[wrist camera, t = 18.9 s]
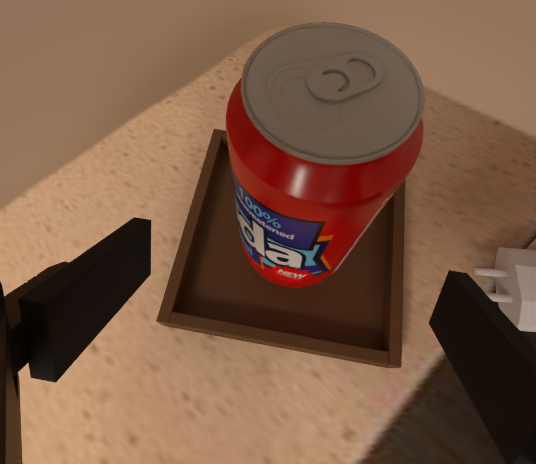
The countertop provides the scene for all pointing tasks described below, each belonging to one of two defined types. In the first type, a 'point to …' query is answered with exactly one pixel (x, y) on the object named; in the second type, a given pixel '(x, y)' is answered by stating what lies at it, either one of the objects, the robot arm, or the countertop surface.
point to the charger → (515, 285)
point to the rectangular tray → (284, 298)
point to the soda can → (319, 145)
